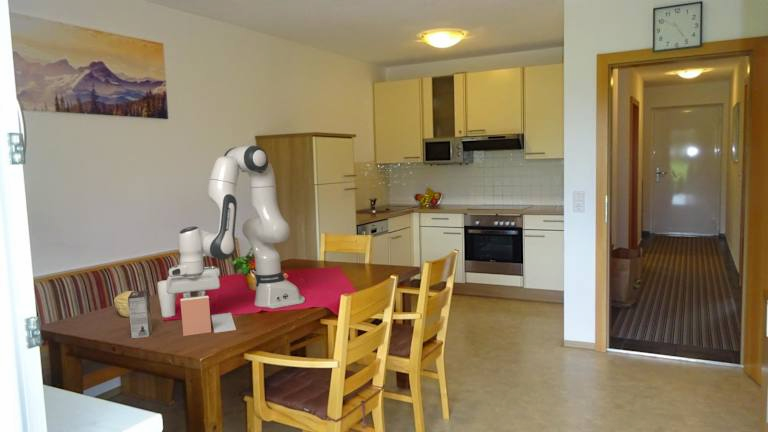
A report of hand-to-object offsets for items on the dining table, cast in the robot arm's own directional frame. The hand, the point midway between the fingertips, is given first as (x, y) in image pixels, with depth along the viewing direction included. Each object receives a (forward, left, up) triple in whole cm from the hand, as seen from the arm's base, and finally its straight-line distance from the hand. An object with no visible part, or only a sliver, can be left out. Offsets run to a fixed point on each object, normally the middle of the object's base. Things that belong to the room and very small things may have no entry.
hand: (194, 302), depth 225 cm
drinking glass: (+11, -18, -9) cm, 23 cm away
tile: (0, +14, -9) cm, 17 cm away
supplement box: (0, -40, -9) cm, 41 cm away
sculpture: (+26, -28, -10) cm, 39 cm away
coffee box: (+20, +4, -9) cm, 22 cm away
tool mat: (-10, +4, -9) cm, 14 cm away
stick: (0, 0, -2) cm, 2 cm away
